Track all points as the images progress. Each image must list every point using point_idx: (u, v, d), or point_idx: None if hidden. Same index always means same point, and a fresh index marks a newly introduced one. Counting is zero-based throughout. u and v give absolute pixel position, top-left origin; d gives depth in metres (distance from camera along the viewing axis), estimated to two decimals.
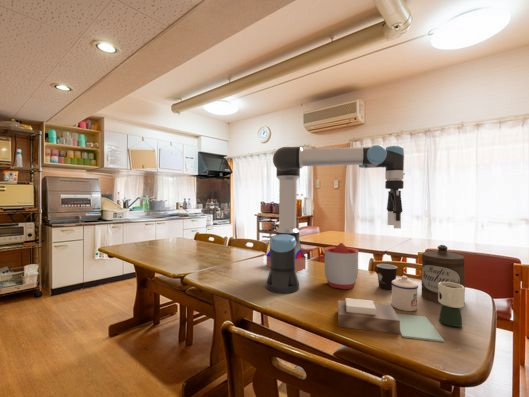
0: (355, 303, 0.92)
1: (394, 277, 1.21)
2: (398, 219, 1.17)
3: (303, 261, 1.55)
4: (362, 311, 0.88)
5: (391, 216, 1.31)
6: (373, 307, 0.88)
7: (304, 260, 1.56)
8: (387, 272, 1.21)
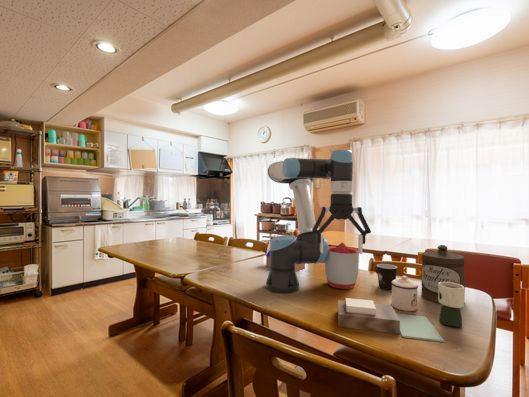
0: (355, 303, 0.92)
1: (394, 277, 1.21)
2: None
3: None
4: (362, 311, 0.88)
5: (359, 241, 0.97)
6: (373, 307, 0.88)
7: None
8: (387, 272, 1.21)
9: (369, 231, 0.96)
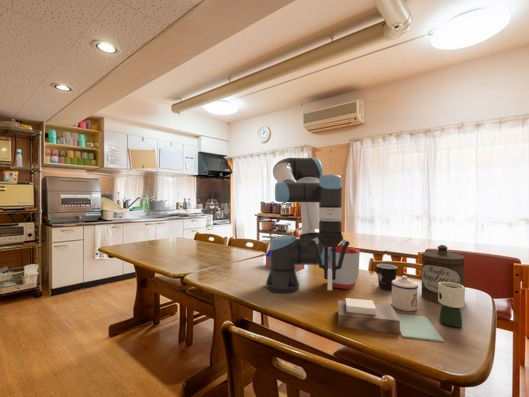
0: (355, 303, 0.92)
1: (394, 277, 1.21)
2: (324, 277, 0.94)
3: None
4: (362, 311, 0.88)
5: None
6: (373, 307, 0.88)
7: None
8: (387, 272, 1.21)
9: (339, 267, 0.92)
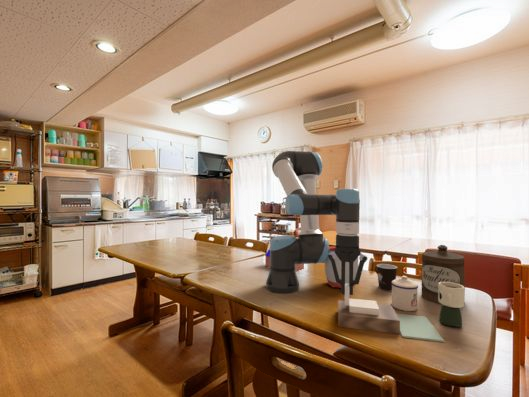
0: (358, 303, 0.92)
1: (394, 277, 1.21)
2: (341, 291, 0.93)
3: None
4: (365, 311, 0.88)
5: None
6: (376, 307, 0.88)
7: None
8: (387, 272, 1.21)
9: (357, 282, 0.91)
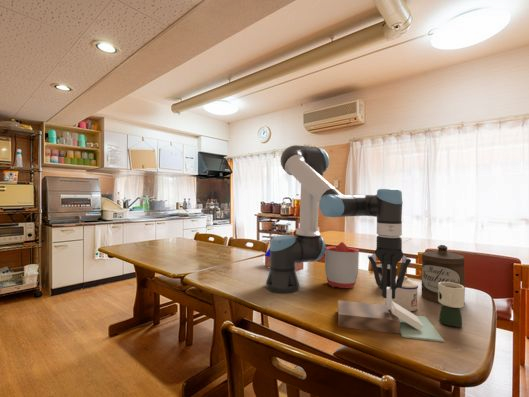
0: (402, 310, 0.88)
1: None
2: (382, 295, 0.90)
3: None
4: (408, 321, 0.85)
5: None
6: (420, 323, 0.85)
7: None
8: (387, 272, 1.21)
9: (399, 285, 0.88)
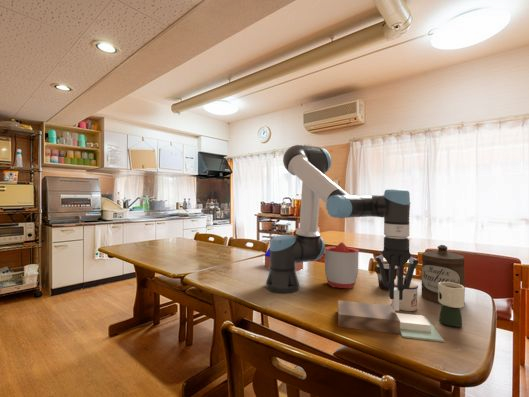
0: (406, 318, 0.88)
1: (394, 277, 1.21)
2: (389, 296, 0.89)
3: None
4: (416, 328, 0.85)
5: None
6: (427, 323, 0.85)
7: None
8: (387, 272, 1.21)
9: (407, 287, 0.87)
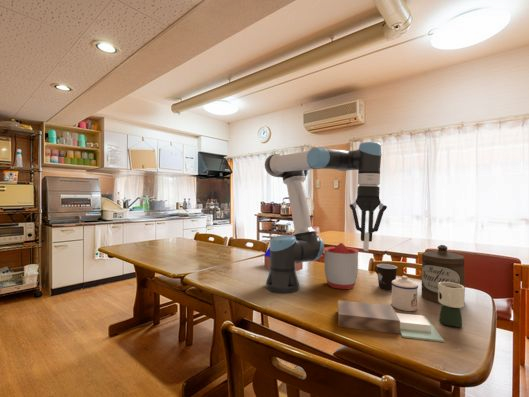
0: (406, 318, 0.88)
1: (394, 277, 1.21)
2: None
3: None
4: (416, 328, 0.85)
5: None
6: (427, 323, 0.85)
7: None
8: (387, 272, 1.21)
9: (376, 229, 0.98)
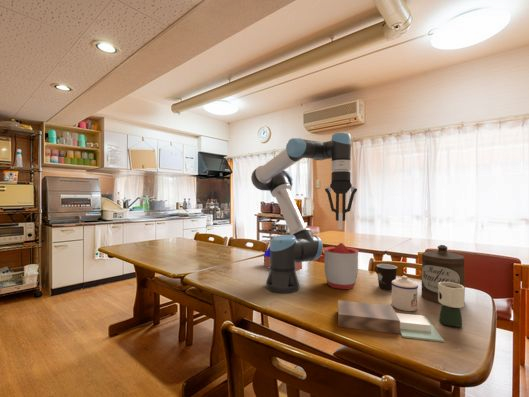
0: (406, 318, 0.88)
1: (394, 277, 1.21)
2: None
3: None
4: (416, 328, 0.85)
5: None
6: (427, 323, 0.85)
7: None
8: (387, 272, 1.21)
9: (348, 210, 1.10)
